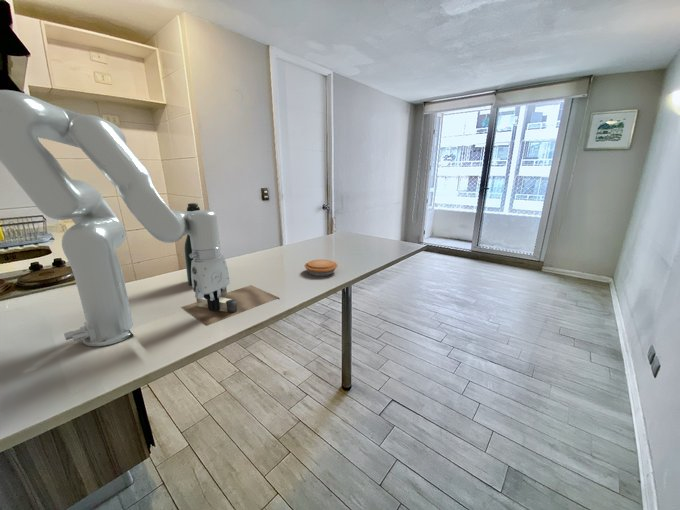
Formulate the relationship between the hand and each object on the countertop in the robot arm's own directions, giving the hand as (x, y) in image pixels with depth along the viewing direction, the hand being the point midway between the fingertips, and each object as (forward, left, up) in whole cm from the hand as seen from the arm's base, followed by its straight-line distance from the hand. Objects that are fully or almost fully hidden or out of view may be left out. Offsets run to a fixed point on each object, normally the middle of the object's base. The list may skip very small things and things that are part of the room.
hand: (214, 310), depth 87 cm
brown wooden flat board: (+8, +4, -3) cm, 9 cm away
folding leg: (+2, +3, -1) cm, 4 cm away
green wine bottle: (+10, +30, -3) cm, 32 cm away
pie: (+54, +6, -3) cm, 54 cm away
